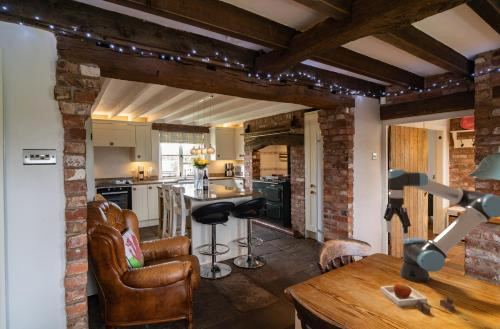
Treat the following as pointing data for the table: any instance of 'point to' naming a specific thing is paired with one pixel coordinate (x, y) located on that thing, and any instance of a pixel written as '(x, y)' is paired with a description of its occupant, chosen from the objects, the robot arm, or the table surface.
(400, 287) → the fruit
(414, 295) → the dish
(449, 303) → the block
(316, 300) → the table surface
